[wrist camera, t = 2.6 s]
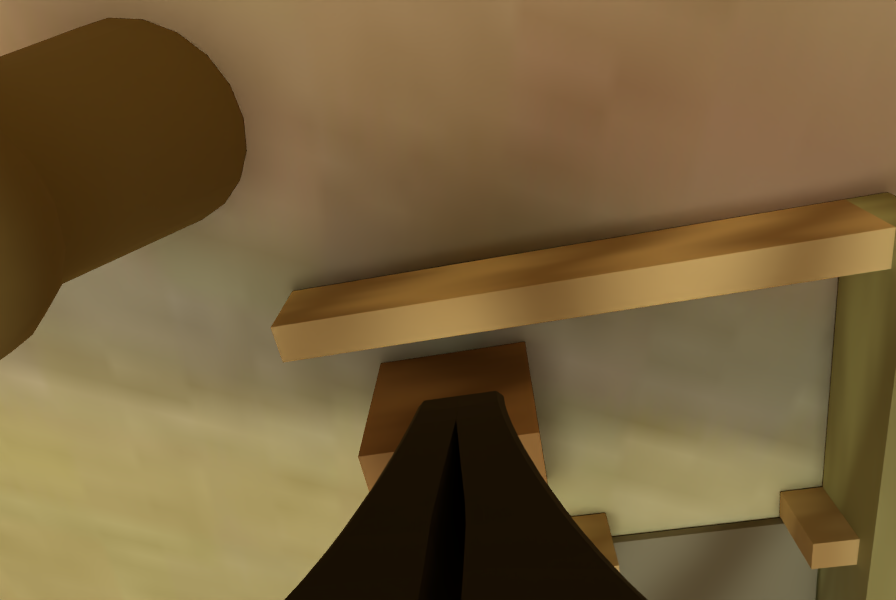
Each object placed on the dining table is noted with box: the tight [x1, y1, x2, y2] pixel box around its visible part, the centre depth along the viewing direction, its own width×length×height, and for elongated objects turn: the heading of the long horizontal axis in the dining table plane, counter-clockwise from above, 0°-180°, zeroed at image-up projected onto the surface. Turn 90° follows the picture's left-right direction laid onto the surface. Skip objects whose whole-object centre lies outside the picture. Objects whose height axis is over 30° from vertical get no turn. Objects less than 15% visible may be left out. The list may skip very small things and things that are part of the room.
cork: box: [0, 18, 247, 360], centre depth 14 cm, size 6×6×11 cm
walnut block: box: [358, 342, 548, 492], centre depth 21 cm, size 5×6×5 cm
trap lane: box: [271, 192, 896, 600], centre depth 22 cm, size 18×20×3 cm
